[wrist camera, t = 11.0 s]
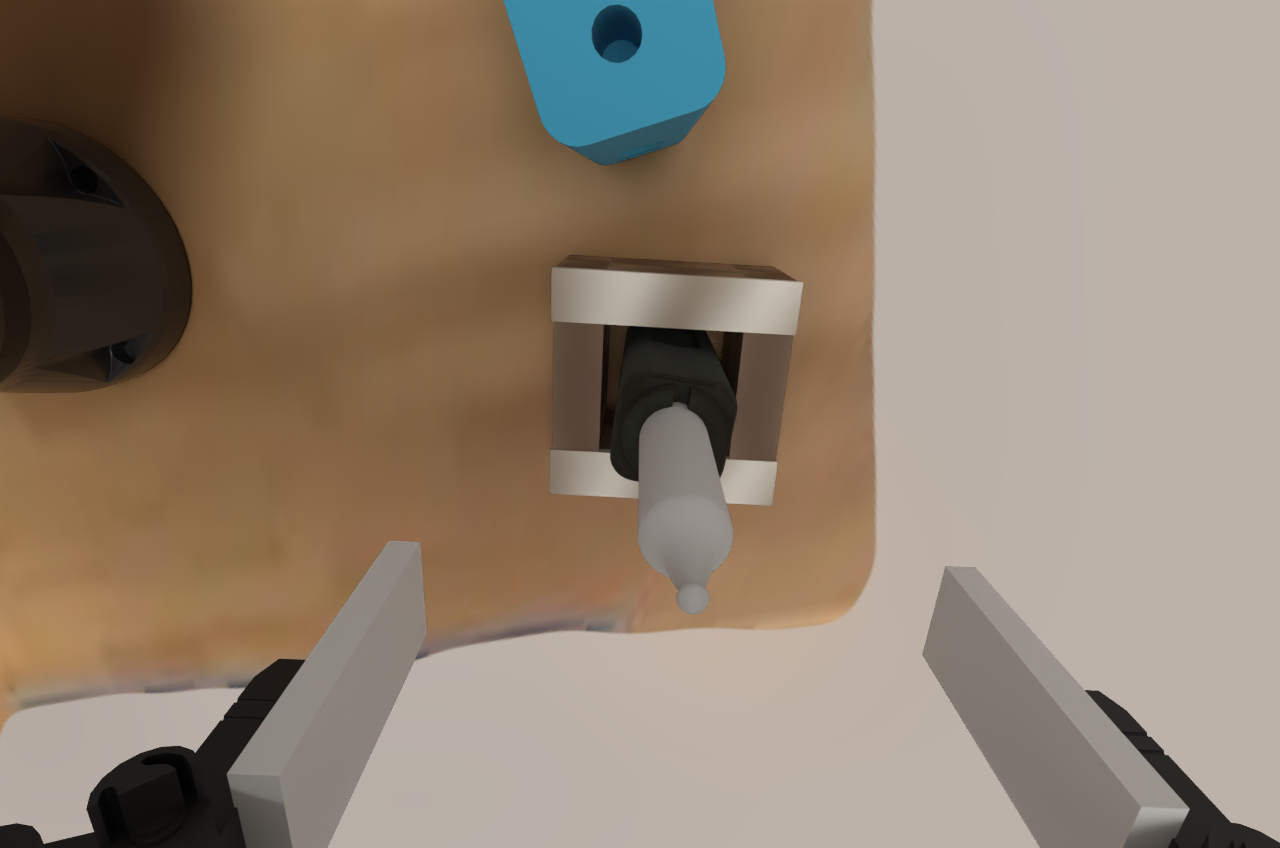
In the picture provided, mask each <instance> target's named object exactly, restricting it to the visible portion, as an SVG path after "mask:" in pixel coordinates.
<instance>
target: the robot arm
mask: <svg viewBox="0 0 1280 848" xmlns="http://www.w3.org/2000/svg"><path fill="white" fill-rule="evenodd" d="M189 306H190V275H189V269H188V264H187V259H186V255H185V252H184V249H183V246H182V243H181V240H180V237H179V235H178V233H177V231H176V228H175V226H174V224H173V222H172V221H171V219H170V217H169V215H168V213H167V212H166V210H165V208H164V207H163V205H162V204H161V202H160V201H159V199H158V198H157V197H156V195H155V194H154V193H153V192H152V190H151V189H150V188H149V187H148V185H147V184H146V183H145V182H144V181H143V180H142V179H141V178H140V177H139V176H138V175H137V174H136V173H135V172H134V171H133V170H132V169H131V168H130V167H129V166H128V165H127V164H126V163H125V162H123V161H122V160H121V159H120V158H118V157H117V156H116V155H115V154H113V153H112V152H110V151H109V150H108V149H106V148H105V147H103V146H101V145H100V144H98V143H97V142H95V141H93V140H91V139H90V138H88V137H86V136H84V135H82V134H80V133H77V132H75V131H73V130H70V129H68V128H65V127H62V126H59V125H56V124H52V123H48V122H44V121H38V120H32V119H23V118H14V117H6V116H0V392H17V393H74V392H84V391H91V390H96V389H101V388H104V387H108V386H111V385H113V384H116V383H119V382H122V381H125V380H127V379H130V378H133V377H135V376H138V375H140V374H142V373H144V372H146V371H148V370H149V369H151V368H153V367H154V366H155V365H157V364H158V363H159V362H161V361H162V360H163V359H164V358H165V357H166V356H167V355H168V354H169V352H170V351H171V350H172V349H173V347H174V346H175V344H176V343H177V341H178V339H179V338H180V336H181V334H182V331H183V329H184V326H185V323H186V320H187V316H188V312H189ZM426 635H427V629H426V615H425V602H424V588H423V575H422V561H421V547H420V542H408V541H388V542H387V544H386V545H385V547H384V548H383V550H382V551H381V553H380V554H379V555H378V557H377V558H376V560H375V561H374V563H373V564H372V565H371V567H370V568H369V570H368V571H367V573H366V574H365V576H364V577H363V578H362V580H361V581H360V583H359V584H358V586H357V587H356V589H355V590H354V591H353V593H352V594H351V596H350V597H349V599H348V600H347V601H346V603H345V604H344V606H343V607H342V609H341V610H340V612H339V613H338V614H337V616H336V617H335V619H334V620H333V622H332V623H331V624H330V626H329V627H328V629H327V630H326V632H325V633H324V635H323V636H322V637H321V639H320V640H319V642H318V643H317V645H316V646H315V648H314V649H313V650H312V652H311V653H310V655H309V656H308V658H307V659H306V660H295V659H278V660H277V661H275V662H274V663H273V664H271V665H270V666H269V667H267V668H266V669H265V670H263V671H262V672H260V673H259V674H258V675H256V676H255V677H254V678H253V679H252V681H251V682H250V683H249V684H248V686H247V687H246V688H245V690H244V691H243V692H242V693H241V695H240V696H239V698H238V701H237V703H234V704H233V705H232V706H231V708H230V709H229V710H228V712H227V713H226V714H225V715H224V719H223V721H220V722H219V723H218V724H217V726H216V727H215V728H214V730H213V731H212V732H211V733H210V735H209V736H208V737H207V739H206V740H205V741H204V743H203V744H202V745H201V746H200V748H199V749H198V750H197V752H196V753H194V751H193V750H190V749H187V748H184V747H181V746H170V747H159V748H156V749H153V750H150V751H146V752H143V753H140V754H138V755H136V756H134V757H133V758H130V759H129V760H127V761H125V762H123V763H121V764H120V765H118V766H117V767H116V768H114V769H113V770H112V771H111V772H109V773H108V774H107V775H106V776H105V777H103V778H102V779H101V781H100V782H99V783H98V784H97V786H96V787H95V788H94V790H93V791H92V792H91V794H90V797H89V801H88V805H87V811H88V815H89V817H90V820H91V823H92V826H93V829H94V832H93V833H88V834H85V835H80V836H76V837H72V838H67V839H63V840H59V841H55V842H50V843H46V844H43V841H42V839H41V836H40V834H39V833H38V832H37V831H36V830H35V829H34V828H33V826H28V825H22V824H17V823H16V824H11V825H5V826H0V848H327V847H328V845H329V843H330V841H331V839H332V837H333V834H334V832H335V830H336V828H337V826H338V824H339V821H340V819H341V817H342V815H343V813H344V811H345V808H346V806H347V804H348V802H349V800H350V798H351V796H352V793H353V791H354V789H355V787H356V785H357V783H358V781H359V778H360V776H361V774H362V772H363V770H364V768H365V765H366V763H367V761H368V759H369V757H370V755H371V753H372V751H373V748H374V746H375V744H376V742H377V740H378V737H379V736H380V733H381V731H382V729H383V727H384V725H385V723H386V720H387V718H388V716H389V714H390V712H391V710H392V708H393V705H394V703H395V701H396V699H397V697H398V695H399V693H400V690H401V688H402V686H403V684H404V682H405V680H406V678H407V675H408V673H409V671H410V669H411V667H412V665H413V663H414V660H415V658H416V656H417V654H418V652H419V650H420V647H421V645H422V643H423V641H424V639H425V637H426ZM922 655H923V657H924V658H925V660H926V662H927V663H928V665H929V666H930V668H931V670H932V671H933V673H934V675H935V676H936V678H937V679H938V681H939V683H940V685H941V686H942V688H943V689H944V691H945V693H946V694H947V696H948V698H949V699H950V701H951V702H952V704H953V706H954V708H955V709H956V711H957V712H958V714H959V716H960V717H961V719H962V721H963V722H964V724H965V725H966V727H967V729H968V730H969V732H970V734H971V735H972V737H973V739H974V740H975V742H976V744H977V745H978V747H979V749H980V750H981V752H982V753H983V755H984V757H985V758H986V760H987V762H988V763H989V765H990V767H991V768H992V770H993V771H994V773H995V775H996V776H997V778H998V780H999V781H1000V783H1001V784H1002V786H1003V788H1004V790H1005V791H1006V793H1007V794H1008V796H1009V798H1010V799H1011V801H1012V803H1013V804H1014V806H1015V808H1016V809H1017V811H1018V812H1019V814H1020V816H1021V817H1022V819H1023V821H1024V822H1025V824H1026V825H1027V827H1028V829H1029V831H1030V832H1031V834H1032V835H1033V837H1034V839H1035V840H1036V842H1037V844H1038V845H1039V847H1040V848H1280V843H1279V842H1277V841H1275V840H1274V839H1272V838H1270V837H1269V836H1267V835H1265V834H1263V833H1262V832H1260V831H1257V830H1255V829H1252V828H1249V827H1247V826H1244V825H1241V824H1236V823H1231V822H1230V821H1229V820H1228V819H1227V818H1226V817H1225V816H1224V815H1223V814H1222V813H1221V812H1220V810H1218V808H1217V807H1216V806H1215V805H1214V804H1213V803H1212V802H1211V801H1210V800H1209V799H1208V798H1207V797H1206V795H1205V794H1204V793H1203V792H1202V791H1201V790H1200V789H1199V788H1198V787H1197V786H1196V785H1195V784H1194V783H1193V782H1192V780H1191V779H1190V778H1189V777H1188V776H1187V775H1186V774H1185V773H1184V772H1183V771H1182V770H1181V769H1180V768H1179V766H1178V765H1177V764H1176V763H1175V762H1174V761H1173V760H1172V759H1171V758H1170V757H1169V756H1168V755H1165V754H1164V750H1163V749H1162V748H1161V747H1160V746H1159V745H1158V744H1157V743H1156V742H1155V741H1154V740H1153V739H1152V738H1151V737H1148V736H1147V732H1146V731H1145V730H1144V729H1143V728H1142V727H1141V726H1140V725H1139V724H1138V723H1137V721H1136V720H1135V719H1134V718H1133V717H1132V716H1131V715H1130V714H1129V713H1128V712H1127V711H1126V710H1125V709H1123V708H1122V707H1121V706H1119V705H1118V704H1116V703H1115V702H1114V701H1112V700H1111V699H1109V698H1108V697H1106V696H1105V695H1103V694H1102V693H1101V692H1099V691H1089V690H1084V689H1083V688H1082V687H1081V686H1080V685H1079V684H1078V682H1077V681H1076V680H1075V679H1074V678H1073V677H1072V676H1071V675H1070V673H1069V672H1068V671H1067V670H1066V669H1065V668H1064V667H1063V666H1062V665H1061V663H1060V662H1059V661H1058V660H1057V659H1056V658H1055V657H1054V655H1053V654H1052V653H1051V652H1050V651H1049V650H1048V649H1047V648H1046V647H1045V645H1044V644H1043V643H1042V642H1041V641H1040V640H1039V639H1038V637H1037V636H1036V635H1035V634H1034V633H1033V632H1032V631H1031V630H1030V628H1029V627H1027V625H1026V624H1025V623H1024V622H1023V621H1022V620H1021V618H1020V617H1019V616H1018V615H1017V614H1016V613H1015V612H1014V610H1013V609H1012V608H1011V607H1010V606H1009V605H1008V604H1007V603H1006V602H1005V600H1004V599H1003V598H1002V597H1001V596H1000V595H999V593H998V592H996V590H995V589H994V588H993V587H992V586H991V584H990V583H989V582H988V581H987V580H986V579H985V578H984V577H983V576H982V574H981V573H980V572H979V571H978V570H977V569H976V568H974V567H952V566H946V567H945V570H944V574H943V578H942V581H941V585H940V590H939V593H938V597H937V601H936V604H935V608H934V613H933V616H932V620H931V624H930V628H929V631H928V635H927V639H926V643H925V647H924V650H923V654H922Z"/></svg>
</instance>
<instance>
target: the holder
mask: <svg viewBox="0 0 1280 848" xmlns="http://www.w3.org/2000/svg"><path fill="white" fill-rule="evenodd" d="M802 289H803V282H802V281H796V280H795V279H793V278H791V277H790V276H788V275H786V274H785V273H783V272H781V271H779V270H778V269H776V268H774V267H766V266H749V265H732V264H715V263H698V262H681V261H664V260H647V259H630V258H613V257H597V256H580V255H569V256H568V257H567V258H566V259H565V260H563V261H562V262H561V263H560V264H559V265H558V266H556V267H552V279H551V321H553V411H552V446H551V448H550V494H566V495H584V496H603V497H621V498H638V489H639V482H637V481H632V480H628V479H625V478H624V477H622V476H620V475H619V474H618V473H617V472H616V471H615V470H614V468H613V466H612V464H611V460H610V449H611V442H612V434H613V426H614V418H615V411H610V410H606V403H607V378H608V354H609V329H610V325H625V326H642V327H659V328H677V329H694V330H711V331H724V339H723V348H722V358H721V366H722V368H723V371H724V373H725V375H726V377H727V380H728V382H729V384H730V386H731V389H732V391H733V393H734V395H735V398H736V400H737V406H738V408H737V415H736V419H735V424H734V428H733V432H732V436H731V441H730V445H729V449H728V453H727V458H726V462H725V466H724V470H723V473H722V475H721V477H720V481H721V485H722V489H723V493H724V496H725V500H726V503H732V504H750V505H769V506H772V499H773V492H774V485H775V478H776V471H777V464H778V462H777V460H776V455H777V448H778V441H779V434H780V427H781V420H782V413H783V405H784V398H785V391H786V384H787V377H788V370H789V363H790V356H791V349H792V342H793V335H796V331H797V324H798V317H799V310H800V303H801V296H802Z"/></svg>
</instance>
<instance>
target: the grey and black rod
mask: <svg viewBox="0 0 1280 848" xmlns="http://www.w3.org/2000/svg"><path fill="white" fill-rule="evenodd" d="M737 408H738V406H737V400H736V398H735V395H734V393H733V391H732V389H731V386H730V384H729V382H728V380H727V377H726V375H725V373H724V371H723V368H722V366H721V364H720V362H719V359H718V357H717V355H716V353H715V350H714V348H713V346H712V344H711V341H710V339H709V337H708V335H707V333H706V331H705V330H694V329H677V328H659V327H642V326H629V328H628V331H627V335H626V341H625V347H624V353H623V359H622V366H621V372H620V379H619V386H618V394H617V402H616V410H615V418H614V426H613V434H612V442H611V449H610V460H611V464H612V466H613V468H614V470H615V471H616V472H617V473H618V474H619V475H620V476H622V477H624V478H625V479H628V480H632V481H637V482H639V489H638V543H639V547H640V551H641V553H642V555H643V556H644V558H645V560H646V561H647V563H648V564H649V565H650V566H651V567H652V568H653V569H654V570H656V571H657V572H659V573H661V574H663V575H665V576H667V577H669V578H670V579H671V581H672V582H673V584H674V585H675V587H676V588H677V590H678V593H677V598H676V599H677V604H678V606H679V607H680V609H681V610H682V611H684V612H685V613H688V614H698V613H701V612H702V611H704V610H705V609H706V608H707V606H708V603H709V593H708V591H707V589H706V585H707V582H708V580H709V577H710V574H711V572H713V571H714V570H715V569H717V568H718V567H719V566H721V564H722V563H723V562H724V561H725V559H726V558H727V557H728V554H729V552H730V549H731V547H732V541H733V528H732V523H731V519H730V515H729V511H728V508H727V504H726V500H725V496H724V493H723V489H722V485H721V481H720V477H721V475H722V473H723V470H724V466H725V462H726V458H727V453H728V449H729V445H730V441H731V436H732V432H733V428H734V424H735V419H736V415H737Z"/></svg>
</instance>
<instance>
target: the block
mask: <svg viewBox="0 0 1280 848" xmlns="http://www.w3.org/2000/svg"><path fill="white" fill-rule="evenodd" d="M504 3H505V7H506V10H507V13H508V16H509V19H510V23H511V26H512V29H513V32H514V36H515V39H516V42H517V45H518V48H519V52H520V55H521V58H522V61H523V65H524V68H525V71H526V74H527V77H528V81H529V84H530V87H531V90H532V94H533V97H534V100H535V103H536V106H537V110H538V113H539V116H540V119H541V121H542V123H543V125H544V127H545V129H546V130H547V131H548V132H549V134H550V135H551V136H552V137H553V138H555V139H556V140H557V141H559V142H560V143H562V144H564V145H566V146H567V147H569V148H571V149H573V150H574V151H576V152H578V153H580V154H581V155H583V156H585V157H587V158H588V159H590V160H592V161H594V162H595V163H598V164H600V165H612V164H615V163H618V162H621V161H625V160H628V159H631V158H634V157H637V156H640V155H644V154H647V153H650V152H653V151H656V150H660V149H663V148H666V147H669V146H672V145H675V144H677V143H679V142H680V141H682V140H683V139H684V138H685V136H686V135H687V134H688V132H689V131H690V130H691V128H692V127H693V126H694V125H695V123H696V122H697V121H698V119H699V118H700V117H701V115H702V114H703V113H704V111H705V110H706V109H707V107H708V106H709V105H710V103H711V102H712V101H713V99H714V98H715V97H716V95H717V94H718V92H719V91H720V89H721V86H722V84H723V81H724V77H725V70H726V66H725V56H724V51H723V47H722V42H721V37H720V33H719V28H718V23H717V19H716V14H715V9H714V5H713V0H504Z"/></svg>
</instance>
